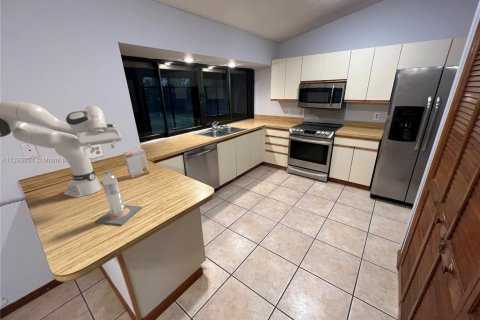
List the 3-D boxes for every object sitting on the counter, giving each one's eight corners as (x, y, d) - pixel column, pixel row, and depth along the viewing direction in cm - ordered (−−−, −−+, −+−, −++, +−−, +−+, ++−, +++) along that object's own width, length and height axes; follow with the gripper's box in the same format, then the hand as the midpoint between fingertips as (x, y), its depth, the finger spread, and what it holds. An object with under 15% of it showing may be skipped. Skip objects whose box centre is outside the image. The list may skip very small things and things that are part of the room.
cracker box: (146, 171, 168) (142, 148, 161) (149, 173, 164) (144, 149, 157) (129, 177, 159) (123, 152, 152) (131, 179, 155) (125, 153, 148)
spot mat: (95, 222, 103) (94, 220, 103) (118, 205, 118) (118, 204, 118) (121, 225, 100) (121, 223, 100) (142, 208, 115) (141, 206, 115)
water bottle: (114, 210, 111) (102, 170, 103) (127, 209, 112) (116, 168, 104) (109, 218, 105) (96, 175, 96) (123, 215, 106) (112, 173, 98)
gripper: (74, 128, 107) (78, 149, 103) (117, 124, 118) (123, 143, 113) (78, 135, 112) (81, 155, 108) (119, 130, 123) (124, 148, 118)
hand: (103, 149), depth 110 cm, fingers open, 8 cm apart
